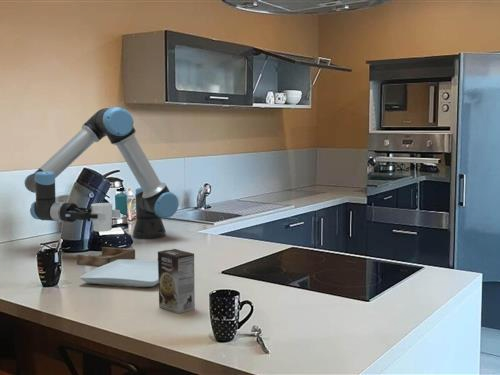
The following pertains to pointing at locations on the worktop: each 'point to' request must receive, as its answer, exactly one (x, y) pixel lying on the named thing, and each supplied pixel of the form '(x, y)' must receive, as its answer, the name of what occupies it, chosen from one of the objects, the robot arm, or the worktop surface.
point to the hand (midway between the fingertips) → (112, 215)
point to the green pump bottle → (121, 202)
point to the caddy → (106, 256)
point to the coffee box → (176, 280)
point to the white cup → (101, 224)
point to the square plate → (125, 273)
